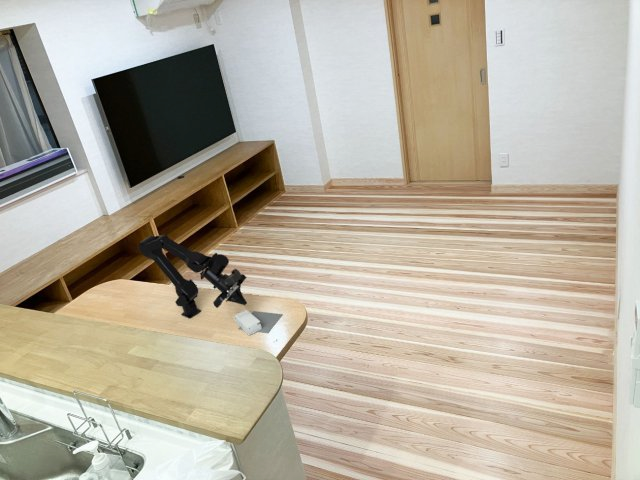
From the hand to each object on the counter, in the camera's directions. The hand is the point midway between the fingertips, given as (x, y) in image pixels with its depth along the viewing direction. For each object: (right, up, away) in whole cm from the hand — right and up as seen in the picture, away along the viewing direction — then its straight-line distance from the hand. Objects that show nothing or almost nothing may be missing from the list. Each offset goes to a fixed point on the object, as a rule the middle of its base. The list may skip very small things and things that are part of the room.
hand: (245, 304), depth 212 cm
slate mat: (+6, -7, +1) cm, 10 cm away
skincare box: (-3, -5, +3) cm, 7 cm away
